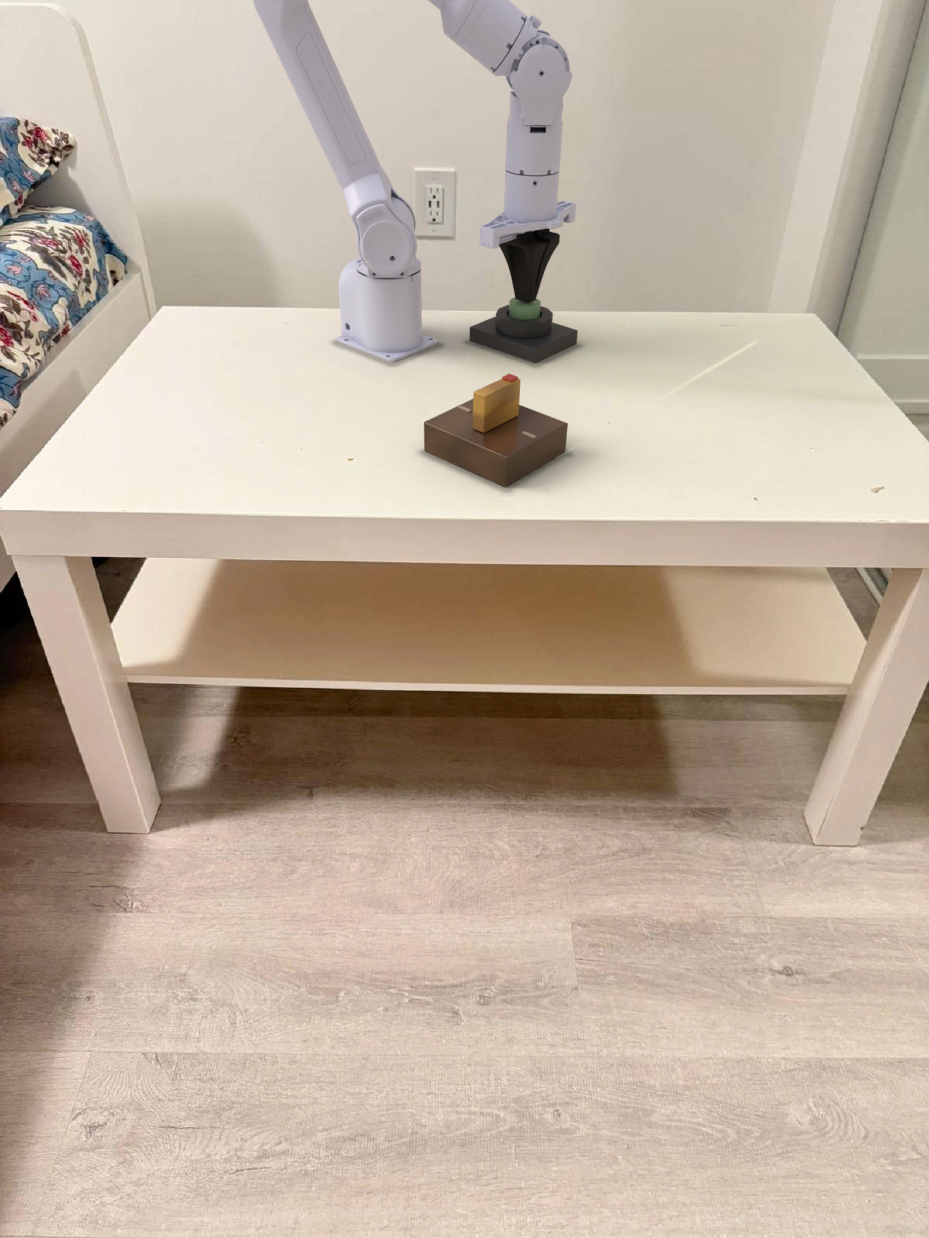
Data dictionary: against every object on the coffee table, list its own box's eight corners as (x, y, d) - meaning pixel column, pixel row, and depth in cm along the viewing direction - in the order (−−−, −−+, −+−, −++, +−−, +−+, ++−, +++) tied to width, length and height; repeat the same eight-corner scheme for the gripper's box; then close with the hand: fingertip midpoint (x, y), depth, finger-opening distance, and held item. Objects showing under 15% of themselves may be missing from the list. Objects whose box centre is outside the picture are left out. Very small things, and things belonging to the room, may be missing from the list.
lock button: (502, 317, 102) (503, 301, 101) (521, 309, 104) (522, 294, 103) (526, 324, 100) (527, 309, 99) (545, 316, 103) (546, 301, 102)
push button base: (469, 340, 105) (469, 311, 102) (511, 323, 109) (512, 294, 107) (535, 363, 100) (537, 333, 97) (576, 344, 104) (579, 314, 102)
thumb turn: (484, 433, 80) (485, 393, 77) (472, 428, 80) (473, 389, 78) (518, 415, 82) (521, 376, 80) (507, 411, 83) (509, 372, 81)
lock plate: (423, 451, 83) (423, 420, 81) (485, 419, 88) (486, 390, 86) (505, 487, 78) (506, 456, 76) (565, 452, 83) (568, 421, 81)
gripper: (518, 188, 86) (512, 325, 95) (602, 165, 95) (590, 292, 103) (465, 177, 90) (463, 309, 99) (550, 155, 99) (542, 278, 107)
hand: (525, 299), depth 101 cm, fingers closed
